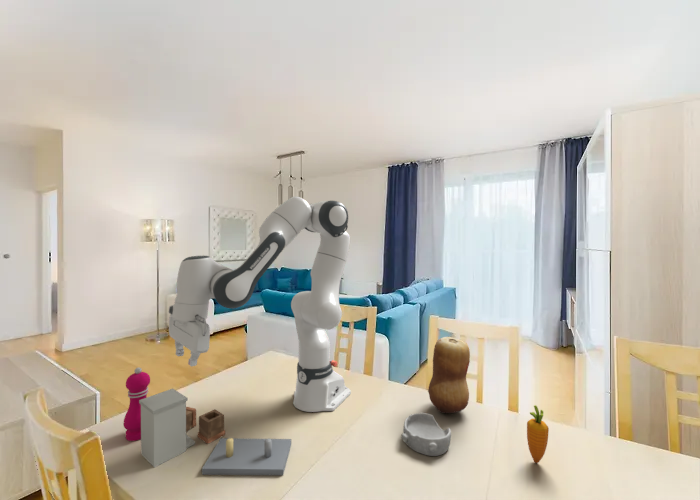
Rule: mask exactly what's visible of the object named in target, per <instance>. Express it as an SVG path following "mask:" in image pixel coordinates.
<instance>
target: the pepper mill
mask: <svg viewBox="0 0 700 500" xmlns="http://www.w3.org/2000/svg"><path fill="white" fill-rule="evenodd" d="M142 370H143V369H142V368H141V367H136V368H135V369H134V373H132V374H130V375H129V376H128V377H127V378H126V380H125V381H126V382H125V388H126V389H127V391H128V392H127V393H128V394H127V397H128V398H129V405H128V408H127V411H126V413H125V416H124V419H123V428H124V430H126V431H125V439H126V440H127V441H129V442H133V441H134V442H137V441H139V440H140V441H141V404H140V403H139V400H141V399H144V398H147V397H148V396H147V395H148V394H149V387H148V386H149V385H150V383H151V377H150V375H149V373H147V372H145V371H142Z"/></svg>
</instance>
